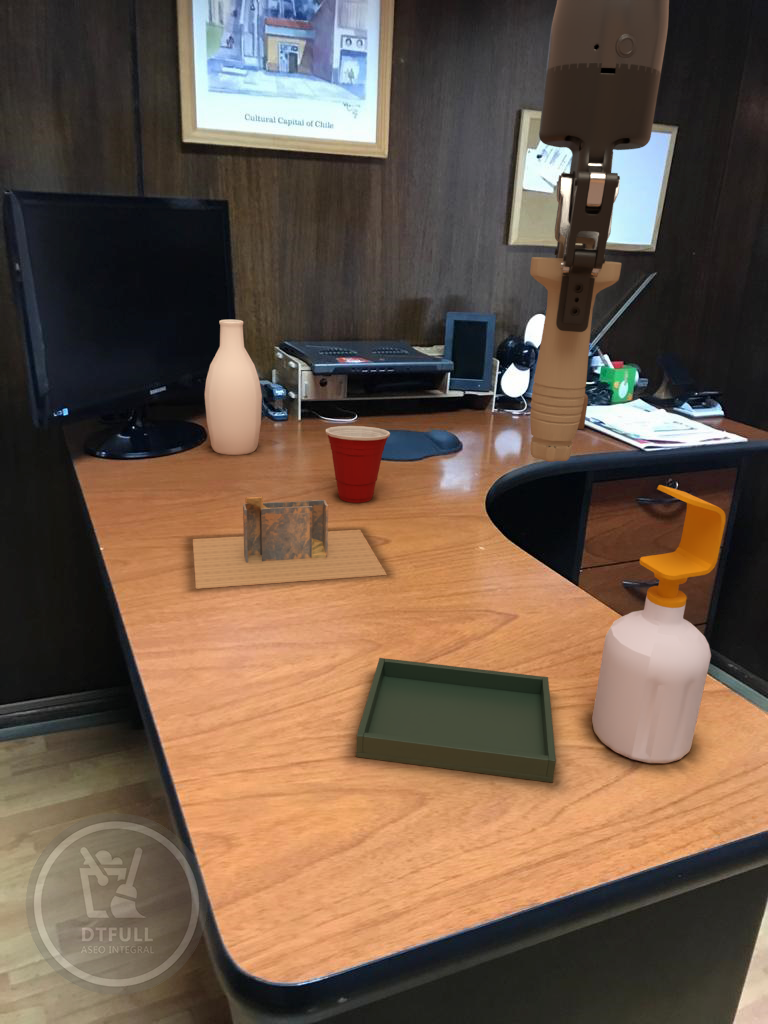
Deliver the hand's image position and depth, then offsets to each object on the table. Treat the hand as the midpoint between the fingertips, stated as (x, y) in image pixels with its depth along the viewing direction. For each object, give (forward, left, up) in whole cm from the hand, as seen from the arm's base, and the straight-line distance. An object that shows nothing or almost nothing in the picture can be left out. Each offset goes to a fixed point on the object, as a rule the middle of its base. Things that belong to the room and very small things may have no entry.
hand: (568, 324), depth 58 cm
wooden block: (-15, -126, -38) cm, 132 cm away
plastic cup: (+27, -63, -38) cm, 78 cm away
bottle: (+56, -85, -38) cm, 108 cm away
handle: (0, 0, -11) cm, 11 cm away
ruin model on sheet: (+32, -36, -38) cm, 61 cm away
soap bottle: (-12, -4, -38) cm, 40 cm away
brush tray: (+6, -2, -38) cm, 38 cm away
